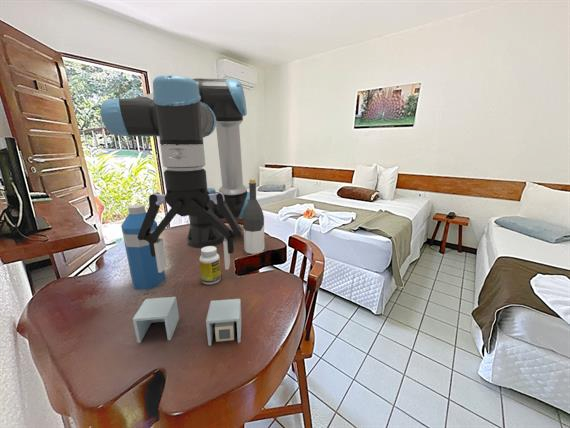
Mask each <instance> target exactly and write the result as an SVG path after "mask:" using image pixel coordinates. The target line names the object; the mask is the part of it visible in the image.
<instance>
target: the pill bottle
mask: <svg viewBox="0 0 570 428" xmlns="http://www.w3.org/2000/svg"><path fill="white" fill-rule="evenodd" d="M217 249H218V248H217V247H216V246H215V245H213V246H207V247H201V249H200V256H199V271H200V280H201V283H202V284H204V285H215V284H217V283H219V282H220V281H221V279H222V271H221V258H220V255H219V253H217V252H218V251H217Z"/></svg>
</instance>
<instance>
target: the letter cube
mask: <svg viewBox="0 0 570 428" xmlns="http://www.w3.org/2000/svg"><path fill="white" fill-rule="evenodd" d="M235 331H236V323H235V321H231V322H220V323H215V328H214V333H215V334H214V335H215V342H226V341H235V333H236V332H235Z"/></svg>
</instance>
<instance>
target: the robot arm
mask: <svg viewBox="0 0 570 428" xmlns="http://www.w3.org/2000/svg"><path fill="white" fill-rule="evenodd" d="M152 89H153V90H152V91H153V92H152V93H147V94H144V95H140V96H136V97H130V98H120V97H117V98H108V99H104V100H103V101H102V103H101V105H100V117H101V120H102V124H103V125H104V127H105V129H106V130H107V131H108V132H109V133H110V134H111V135H114V136H118V137H128V138H131V137H158V138H159V145H160V153H161V162H162V166H163V167H164V168H166V169H164V171H163V177H164V185H165V190H166V193H165V194H164V193H163V194H161V193H159V192H155V193H154V192H153V193H152V194H150V195H149V196H148V202H149V203H148V205H149V206H148V208H147V211H146V216H145V218H144V221H143V224H142V226H141V229H140V231H139V234H138V237H137V238H138V239H139V240H145V241H148V242H149V245H150V252H151V255H152V257H156V261H157V267H158V273H161V272H163V271H164V272H165V270H166V268H167V266H168V265H167V260H166V259H167V258H166V252H165V246H164V239H163V238H160V236H161V235H162V233H163V232H164V231H165V230H166V229H167V227H168V226H169V224H170V223H171V222H172V220H173V219H174V218H175V216H176V215H178V216H179V217H187V216H188V218H189V219H188V220H189V228H188V229H189V230H188V234H187V238H186V241H187V245H189V246H190V247H193V248H204V247H207V246H217V245H218V244H220V243H222V242H223V243H222V244H223V257H224V270H227V271H228V270H229V269H230V266H231V258H230V257H231V256H230V255H231V254H234V252H235V239H236V238H240V237H241V236H242V234H243V233H242V232H243V230H242V228H241V226H240V224H239V222H238V220H239V219H240V220H243V215H244V211H245V208H246V206H247V204H248V202H249V199H250V192H249V191H248V187H246V185H245V184H244V181H243V165H242V164H243V162H242V147H241V132H240V131H241V130H240V125H241V124H242V123H243V121H244V117H245V116H247V113H248V111H247V102H246V97H245V92H244V87H243V85H242V83H241V82H240V81H239V80H238V79H232V78H201V77H200V78H199V77H198V78H197V77H196V78H190V77H187V76H181V75H171V74H169V75H168V74H167V75H165V74H163V75H158V76H157V77H154V79H153V80H152ZM215 129H216V139H217V140H216V141H217V149H218V150H217V151H218V157H219V169H220V177H221V178H220V179H221V187H219V189H218V192H217V190H216V189H215V188H213V187H212V188H208V181H207V180H208V179H207V170H206V169H204V168H203V167H205V166H206V157H205V146H204V138H205V137H209V136H210V135H212V134H213V132H214V131H215ZM164 202H166V204H167V205H168V207H170V209H169V210H168V211H167V213H166V215H165V216H164V217H163V218H162V219H161V221H160V223H159V224H157V228H156V229H155V230H154V231H153V233H150V230H151V228H152V225H153V223H154V220H155V219H156V218H157V215H158V212H159V209H160V208H161V205H163V203H164ZM223 220H225V222H227V224H228V226H227V225H226V223H225V222H224V221H223ZM155 221H156V220H155ZM158 237H159V239H158Z"/></svg>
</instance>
